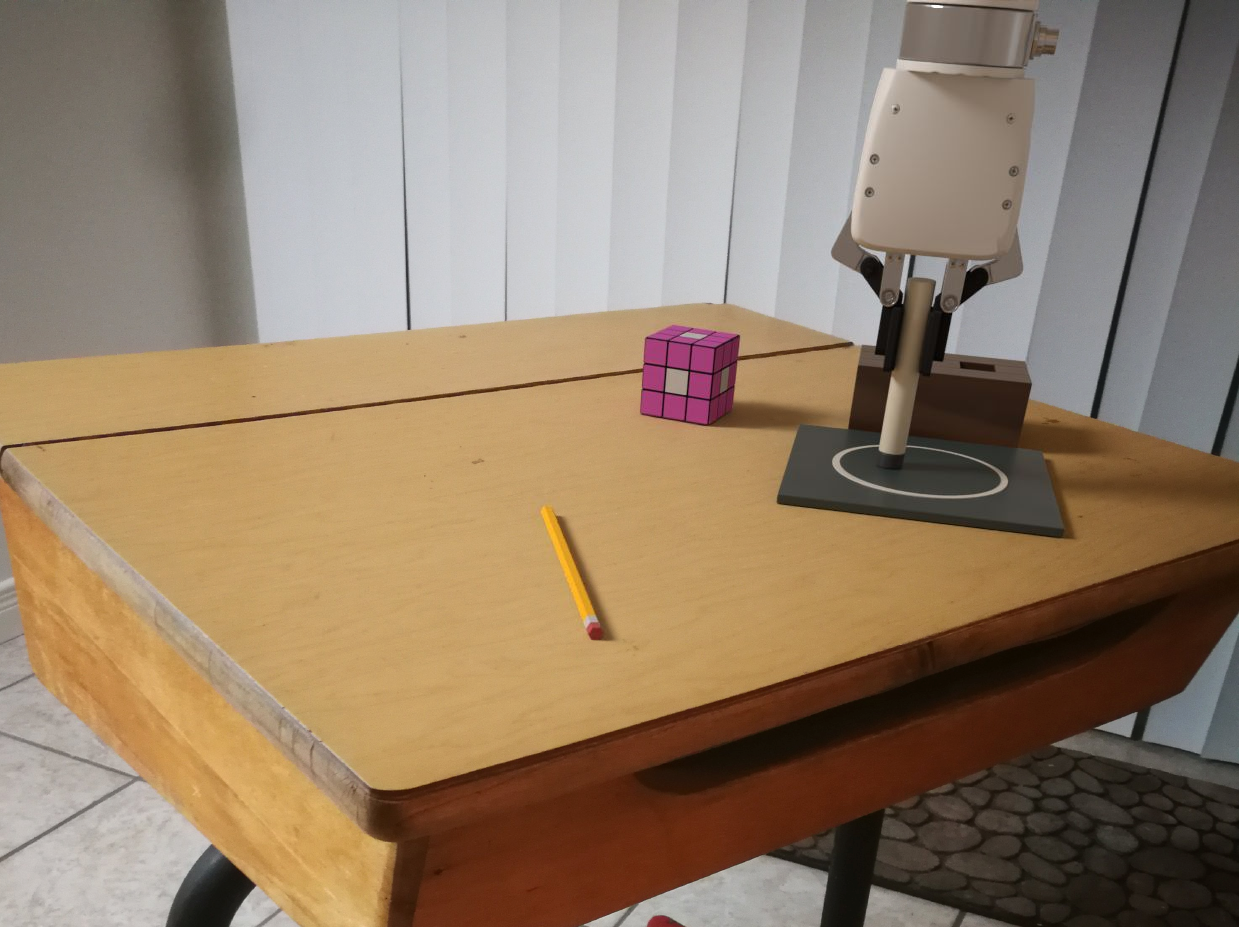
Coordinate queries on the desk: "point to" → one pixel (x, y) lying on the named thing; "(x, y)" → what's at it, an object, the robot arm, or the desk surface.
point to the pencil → (572, 575)
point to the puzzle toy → (689, 374)
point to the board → (922, 481)
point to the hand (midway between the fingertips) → (906, 367)
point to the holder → (949, 399)
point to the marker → (905, 372)
